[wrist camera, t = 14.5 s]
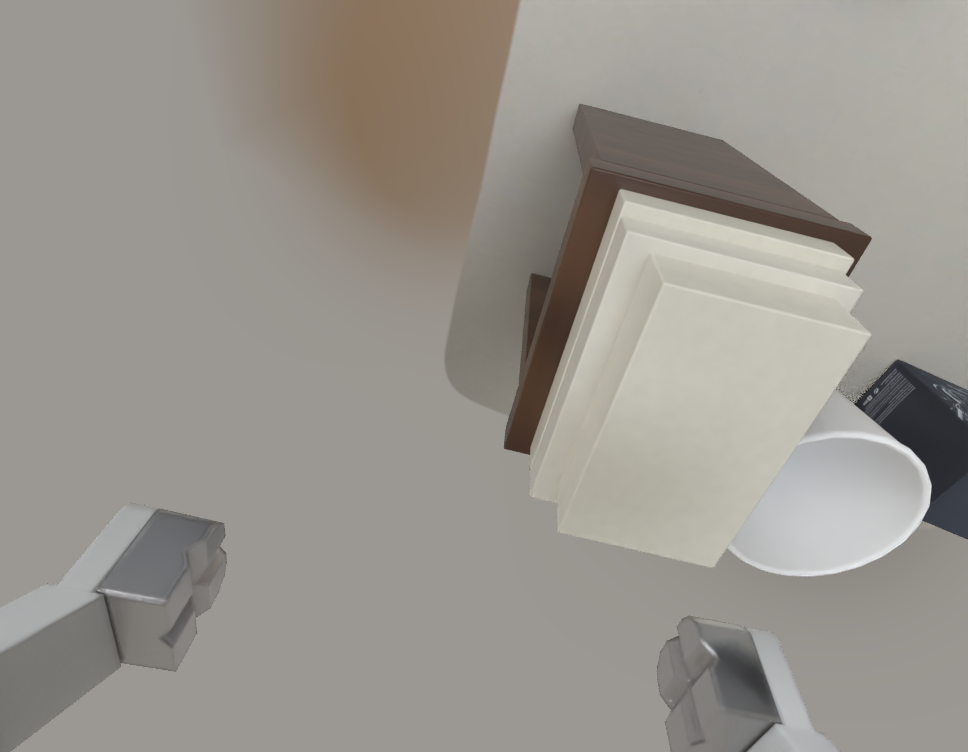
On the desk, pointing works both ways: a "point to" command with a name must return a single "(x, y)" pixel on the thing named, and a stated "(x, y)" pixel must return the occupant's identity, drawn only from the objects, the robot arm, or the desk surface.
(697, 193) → the walnut shelf
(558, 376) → the white books
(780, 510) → the cup
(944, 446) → the small box
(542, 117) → the desk surface
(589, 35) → the desk surface
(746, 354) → the ivory book
